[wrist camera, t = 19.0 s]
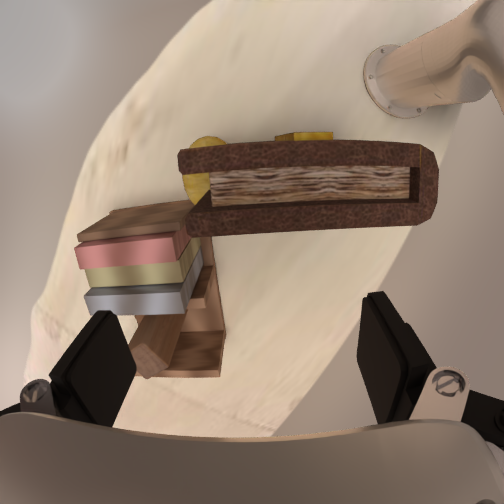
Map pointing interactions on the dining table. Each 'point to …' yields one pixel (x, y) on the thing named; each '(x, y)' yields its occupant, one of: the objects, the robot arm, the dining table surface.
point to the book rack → (158, 279)
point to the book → (306, 184)
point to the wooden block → (155, 342)
